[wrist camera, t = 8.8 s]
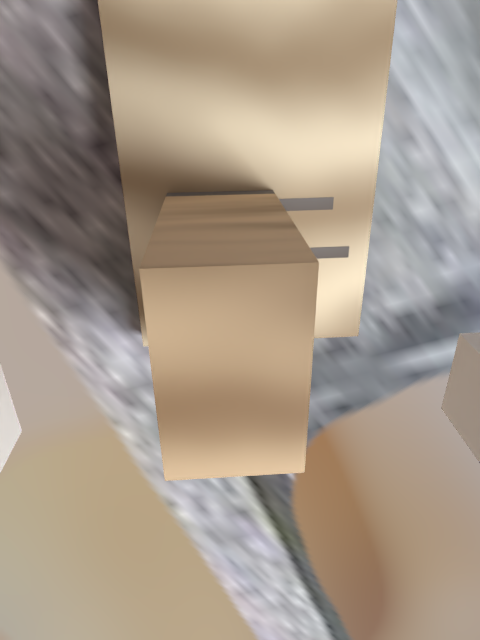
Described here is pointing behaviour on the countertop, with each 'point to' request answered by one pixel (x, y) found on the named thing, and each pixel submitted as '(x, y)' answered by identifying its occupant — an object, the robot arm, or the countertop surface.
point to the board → (256, 120)
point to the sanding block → (229, 334)
